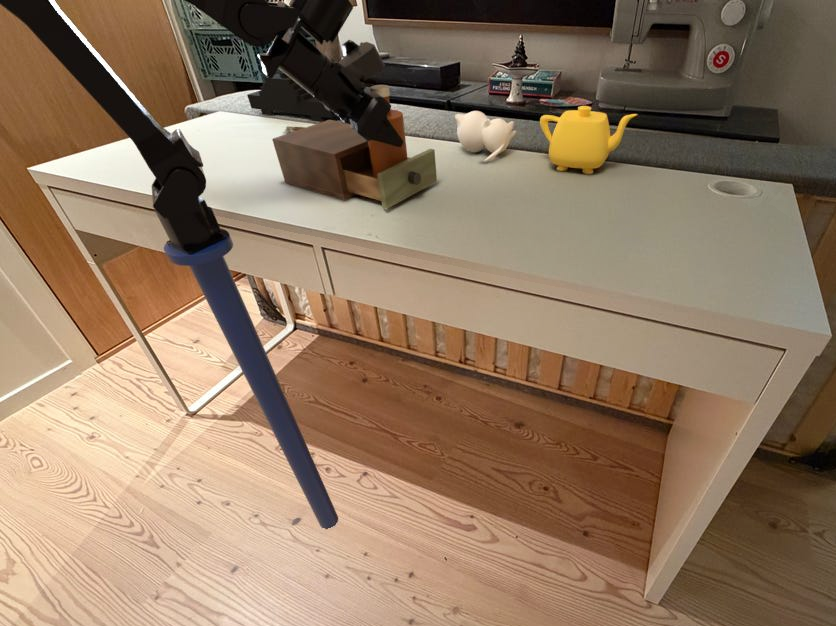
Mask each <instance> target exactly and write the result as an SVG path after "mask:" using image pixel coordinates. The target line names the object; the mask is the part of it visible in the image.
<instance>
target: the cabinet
mask: <svg viewBox="0 0 836 626" xmlns="http://www.w3.org/2000/svg"><path fill="white" fill-rule="evenodd" d="M271 140H272V142H273V146H274V150H275V153H276V157H277V161H278V163H279V168H280V170H281V173H282V176H283V180H284V183H285V184H287V185H290V186H295V187H298V188H301V189H305V190H308V191H311V192H315V193H319V194H321V195H324V196H328V197H332V198H335V199H337V200H342V201H347V200H349V199H352V198H353V197H355V196H357V195H358V194H355V193H352V192H348V191H347V188H346V183H345V178H344V174H343V169H342V164H341V160H340V158H342V157H345V156H347V155H349V154H352V153H354V152H357V151H359V150H362V149H364V148H369V145H368V141H367V140H366V139H364V138H363V137H362V136H361V135H359V134H358V133H357V132H356V131H354V130H353V129H352V128H351V125H350V124H347V123H345V122H343V121H339V120H335V119H334V120H333V119H327V120H325V121H320V122H319V123H315V124H312V125H309V126H306V128H303V129H300V130H297V131H294V132H287V133H286V134H282V135H279V136H277V137H274V138H271Z"/></svg>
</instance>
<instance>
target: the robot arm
mask: <svg viewBox="0 0 836 626" xmlns="http://www.w3.org/2000/svg"><path fill="white" fill-rule="evenodd" d="M184 2H186V3H188V4H190V5H191V6H193V7H195V8H196V9H197V10H199V11H201V12H202V13H203V14H205V15H206V16H208V17H209V18H210V19H212V20H213V21H215V22H216V23H217V24H219V25H220V26H222V27H223V28H224V29H225V30H227V31H229V32H230V33H232V34H233V35H235V36H236V37H237V38H238V39H240V40H241V41H243V42H244V43H246V44H247V45H249V46H252V47H255V48H262V47H265V46H268V45H269V44H270V46H269V48H268V50H267V52H264V53H260V52H259V53H257V57H258V59H259V61H260V64H261V67H262V73H263V75H265V77H268V78H270V79H271V78H273V76H274V75H275V74H277V73H276V72H277V71H278V70H280V71H281V72H283V73H285V74H286V75H287V76H289V77H290V78H291V79H292V80H294V81H295V82H296V83H297V84H299V85H300V86H301V87H302V88H304V89H305V90H306V91H307V92H309V93H310V94H311V95H312V96H314V97H315V98H316V99H317V100H319V101H320V102H321V103H322V104H324V106H325V108H326V109H327V110H329V111H330V112H331V113H333V114H334V115H335V116H336V117H335V118H340V120H341V122H344V123H347V124H350V125H351V128H352V129H353V130H354V131H356V132H357V133H358V134H359V135H361V136H362V137H363V138H364V139H366V140H367V141H370V140H374V141H378V142H382V143H386V144H390V145H394V146H398V147H401V146H402V145H403V143H404V141H403V140H402V138H401V137H400V136H399V134H398V133H397V131H396V130H395V129H394V127H393V126H392V125H391V123H390V122H389V120H388V119H387V114H388V113H389V111H390V110H392V104H391V103H390V104H389V103H388V102H387V101H386V100H385V99H384V98H383V97H382V96H380V95H378V94H376V93H375V92H371V91H369V92H365V90H366V88H367V86H366V84H364V82H366V81H367V80H369V79H370V78H371V77H373V76H374V75H375V74H376V73H379V72H382V71H383V70H384V69H385V68H386V64H385V62H384V60H383V59H382V57H381V55H380V53H379V51H378V49H377V47H376V45H375V44H373V43H372V42H369V41H365V42H362V41H360V43H359V44H357V43H356V42H355V41H353V40H351V39H348V40H345V42H343V43H342V44H341V47H342V54H343V55H342V56H341V59H340V60H339V61H337V60H334V59H333V58H332V57H328V56H327V55H326V54H325V53H324V52H323V51H322V50H320V49H319V48H318V47H317V45H315V44H314V43H313V42H311V41H310V40H309V39H308V38H307V37H306V36H305V35H304V34H302V33H301V31H300V30H301V29H302V30H303V31H304V32H305V33H306V34H307V35H308V36H310V37H311V38H312V39H313V40H314V41H316V42H317V43H318V44H319V45H321V46H323V44H324V42H325V43H330V44H334V42H335V40H336V38H337V36H338V35H339V34H340V31H341V30H342V28H343V26H344V25H345V23H346V21H347V20H348V18H349V16H350V14H351V13H352V11H353V9H354V6H353V3H352V2H351V1H350V0H290V2H289V4H287V3H286V2H283V1H280V0H279V1H277V2H270V1H269V2H268V1H267V0H184ZM0 6H2V7H3V8H4V9H5V10H7V11H8V12H9V13H11V14H12V15H13V16H14V17H16V18H17V19H18V20H20V22H22V23H23V24H24V25H25V26H27V28H28V29H29V30H30V31H31V32H32V33H33V35H35V36H36V37H37V38H38V39H39V40H40V42H41V43H42V44H43V45H44V46H45V47H46V49H48V50H49V51H50V53H51V54H52V55H53V56H54V57H55V58H56V59H57V61H58V62H60V64H62V66H63V67H64V68H65V69H66V70H67V71H68V73H70V74H71V76H73V78H74V79H75V80H76V81H77V82H78V83H79V85H81V87H83V89H85V91H86V92H87V93H88V94H89V96H91V97H92V98H93V99H94V101H95V102H96V103H97V104H98V105H99V106H100V107H101V108H102V109H103V110H104V111H105V112H106V114H107V115H108V116H109V117H110V118H111V119H112V120H113V122H115V124H116V125H117V126H118V127H119V128H120V130H122V131H123V132H124V133H125V135H126V136H127V137H128V138H129V139H130V140H131V142H132V143H133V144H134V145H135V147H136V149H137V150H138V152H139V154H140V155H141V157H142V159H143V161H144V162H145V164H146V165H147V167H148V169H149V170H150V172H151V173H152V174H153V176H154V178H155V179H154V180H153V182H152V184H151V198H152V208H153V210H154V212H155V214H156V216H157V218H158V220H159V222H160V224H161V226H162V227H163V229H164V232H165V233H166V236H167V238H168V239H169V240H167V241H166V243H167V245H169V246H171V247H173V248H175V249H177V250H180V251H182V252H184V253H186V254H189V255H191V254H194V253H196V252H198V251H200V250H203V249H205V248H207V247H209V246H211V245H213V244H216V243H218V242H220V241H222V240H224V239H226V236H225V235H224V234H221V233H219V232H221V229H222V228H221V227H220V224H219V221H218V220H217V217H216V215H215V213H214V211H213V207H211V206H208V204H207V201H206V199H204V198H201V197H200V196H202V194H203V193H204V192H205V190H206V188H207V179H206V175H205V172H204V169H203V167H204V162H203V160H202V157H201V153H200V151H198V149H195V148H194V147H193V146H192V145H191V143H189V141H188V140H187V139H186V137H185V135H184V134H183V132H182V131H181V128H179V127H177V128H175V129H174V131H173V132H170V131H168V130H167V129H166V128H164V127H163V126H162V125H161V124H159V123H158V122H157V120H155V119H154V118H153V116H152V115H151V114H150V113H149V111H148V110H147V109H146V108H145V107H144V106H143V105H142V103H141V102H140V101H139V100H138V98H136V96H135V94H133V92H131V91H130V89H129V88H128V87H127V85H126V84H125V83H124V82H123V81H122V80H121V78H119V76H118V75H117V74H116V72H115V71H113V69H112V68H111V67H110V66H109V64H108V63H107V62H106V60H104V59H103V57H102V56H101V55H100V53H98V52H97V51H96V49H95V48H94V47H93V46H92V45H91V43H90V42H89V40H87V38H86V37H85V36H84V35H83V34H82V33H81V32H80V30H79V29H78V28H77V27H76V26H75V24H74V23H73V22H72V21H71V20H70V19H69V17H68V16H67V15H66V14H65V12H63V10H62V9H61V8H60V6H59V5H58V3H57V2H56V1H55V0H0ZM285 30H287V31H286V32H285V34H284V35H283V37H280V36H279V35H277V34H278V33H280V32H282V31H285ZM220 228H221V229H220ZM166 243H165V244H166Z"/></svg>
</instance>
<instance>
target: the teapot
mask: <svg viewBox="0 0 836 626" xmlns="http://www.w3.org/2000/svg"><path fill="white" fill-rule="evenodd" d="M636 116H638V113H631V114H626V115H624V116H622V118H621V119H620V121H619V123H618V125H617V128H616V131H615V132H614V133H613V134H612V135H611V129H610V122H609V118H608V115H607V113H605V112H600V111H592V107H591V106H589V105H579V106H578V107H577V110H576V109H570V110H569V109H568V110H566V111H564V112H563V113H562V114H561V115H560V116H556V115H552V114H543V115H541V117H540V118H539V123H540V129H541V130H542V132H543V134H544V136H545V137H546V139H547V140H548V142H549V147H548V156H549V159H550V161H551V163H552V164H554V165H556V166H557V167H556V170H557V171H560V172H565V171H568V169H569V168H572V169H573V168H574V169H582V173H583V174H587V175H591V174H594V169H598V168H601V166H603V164H604V163H605V161H606V160H607V159H608V156H609V155H610V153H611V152H613V151H615V149H617V147H618V146H619V145H620V143H621V142H622V139H623V136H624V133H625V129H626V127H627V125H628V124H629V122H630V120H632V119H633V118H634V117H636ZM549 122H555V123H556V125H555V128H554V130H553V132H552V133H551V131H550V126H549Z"/></svg>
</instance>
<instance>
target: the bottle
mask: <svg viewBox="0 0 836 626" xmlns="http://www.w3.org/2000/svg"><path fill="white" fill-rule="evenodd" d="M369 89H370V92H375V93H376V94H378V95H380V96H382V97H383V98H384V99H385V100H386V101H387V102H388V103H389V104H391V101H390V95H391V92H390V86H389V85H387V84H376V85H375V84H374V85H371V86H370V87H369ZM387 119H388V120H389V122H390V123H391V125H392V126H393V127H394V129H395V130H396V131H397V133H398V134H399V136H400V137H401V138H402V140H403V141H404V143H403V145H402V146H401V147H398V146H394V145H390V144H386V143H382V142H378V141H374V140H370V141H368V145H369V151H370V158H371V164H372V170H373V176H374V178H378V176H377V174H378V173H380V172H382V171H384V170H386V169H388V168H390V167H392V166H395V165H397V164H399V163H401V162H403V161H405V160H407V159H408V158H407V157H408V150H407V141H406V140H407V139H406V131H405V123H404V122H405V121H404V114H403V111H401V110H397V109H391V110H390V111H389V113H388V114H387Z"/></svg>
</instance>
